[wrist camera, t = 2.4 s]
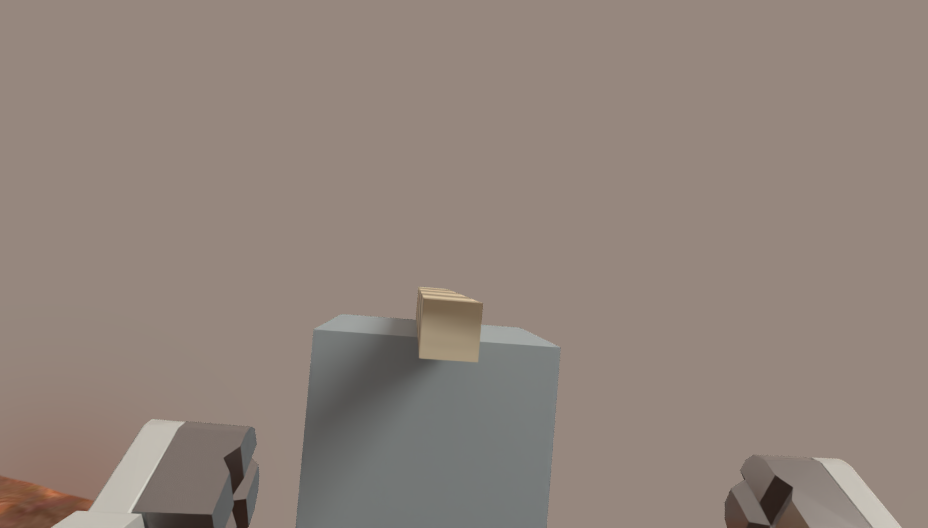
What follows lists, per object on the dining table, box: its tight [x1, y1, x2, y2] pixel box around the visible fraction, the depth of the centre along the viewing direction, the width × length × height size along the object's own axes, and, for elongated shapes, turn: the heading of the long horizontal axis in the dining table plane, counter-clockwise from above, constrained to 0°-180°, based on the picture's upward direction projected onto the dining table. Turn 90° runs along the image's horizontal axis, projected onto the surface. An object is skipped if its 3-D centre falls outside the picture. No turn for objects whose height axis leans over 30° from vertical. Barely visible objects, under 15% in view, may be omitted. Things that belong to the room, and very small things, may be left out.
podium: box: [296, 314, 561, 528], centre depth 37 cm, size 12×14×26 cm
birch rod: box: [416, 287, 483, 362], centre depth 35 cm, size 24×2×2 cm, turn 5°
